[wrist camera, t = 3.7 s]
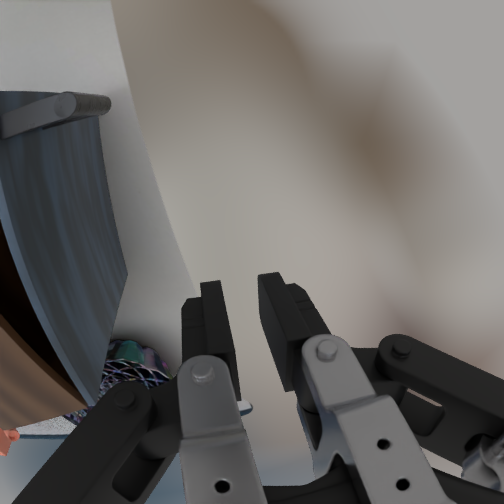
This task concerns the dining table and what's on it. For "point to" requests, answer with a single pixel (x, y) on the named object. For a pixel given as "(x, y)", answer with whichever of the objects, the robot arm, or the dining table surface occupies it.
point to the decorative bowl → (127, 371)
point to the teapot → (7, 439)
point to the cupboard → (28, 358)
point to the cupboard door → (62, 224)
